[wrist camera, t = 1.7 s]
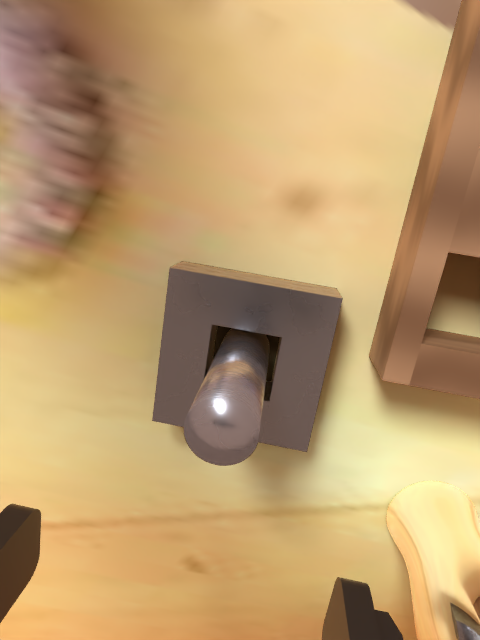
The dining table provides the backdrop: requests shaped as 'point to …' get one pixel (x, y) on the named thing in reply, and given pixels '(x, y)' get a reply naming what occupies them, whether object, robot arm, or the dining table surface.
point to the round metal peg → (230, 400)
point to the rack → (438, 232)
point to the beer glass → (439, 558)
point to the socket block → (255, 316)
